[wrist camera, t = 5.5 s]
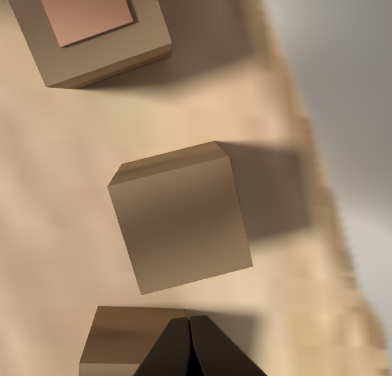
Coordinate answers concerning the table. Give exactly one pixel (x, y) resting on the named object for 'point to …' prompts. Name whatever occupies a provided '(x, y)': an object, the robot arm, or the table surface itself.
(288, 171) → the table surface
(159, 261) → the plain block
